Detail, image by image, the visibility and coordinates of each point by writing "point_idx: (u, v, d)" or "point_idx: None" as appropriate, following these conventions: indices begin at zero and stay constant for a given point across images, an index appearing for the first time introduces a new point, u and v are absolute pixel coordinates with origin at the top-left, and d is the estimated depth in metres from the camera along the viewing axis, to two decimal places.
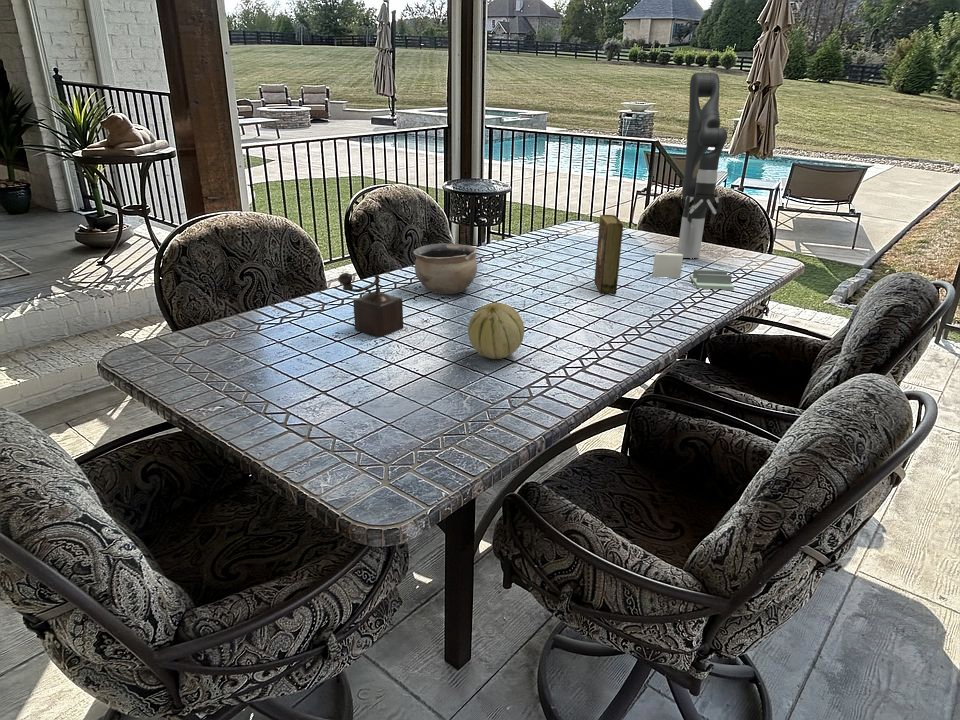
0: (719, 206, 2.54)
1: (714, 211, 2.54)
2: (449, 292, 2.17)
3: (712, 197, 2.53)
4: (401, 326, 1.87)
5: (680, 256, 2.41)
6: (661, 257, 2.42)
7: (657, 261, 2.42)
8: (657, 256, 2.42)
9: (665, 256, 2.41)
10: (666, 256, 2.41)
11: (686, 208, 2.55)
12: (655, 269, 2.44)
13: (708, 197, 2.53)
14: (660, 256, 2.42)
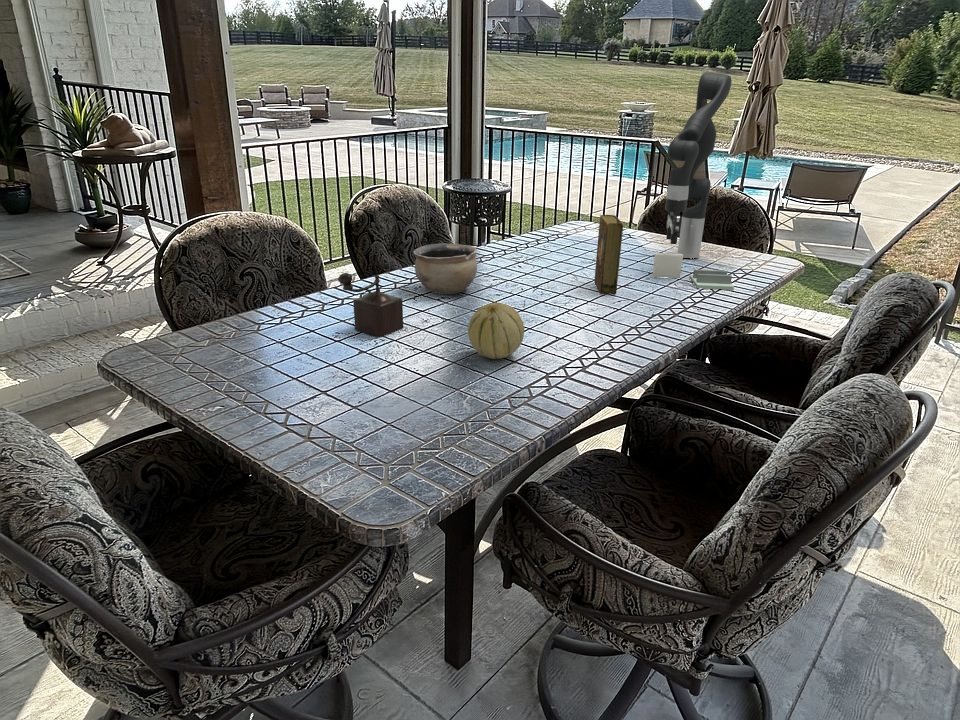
0: None
1: None
2: (449, 292, 2.17)
3: None
4: (401, 326, 1.87)
5: (680, 256, 2.41)
6: (661, 257, 2.42)
7: (657, 261, 2.42)
8: (657, 256, 2.42)
9: (665, 256, 2.41)
10: (666, 256, 2.41)
11: None
12: (655, 269, 2.44)
13: None
14: (660, 256, 2.42)
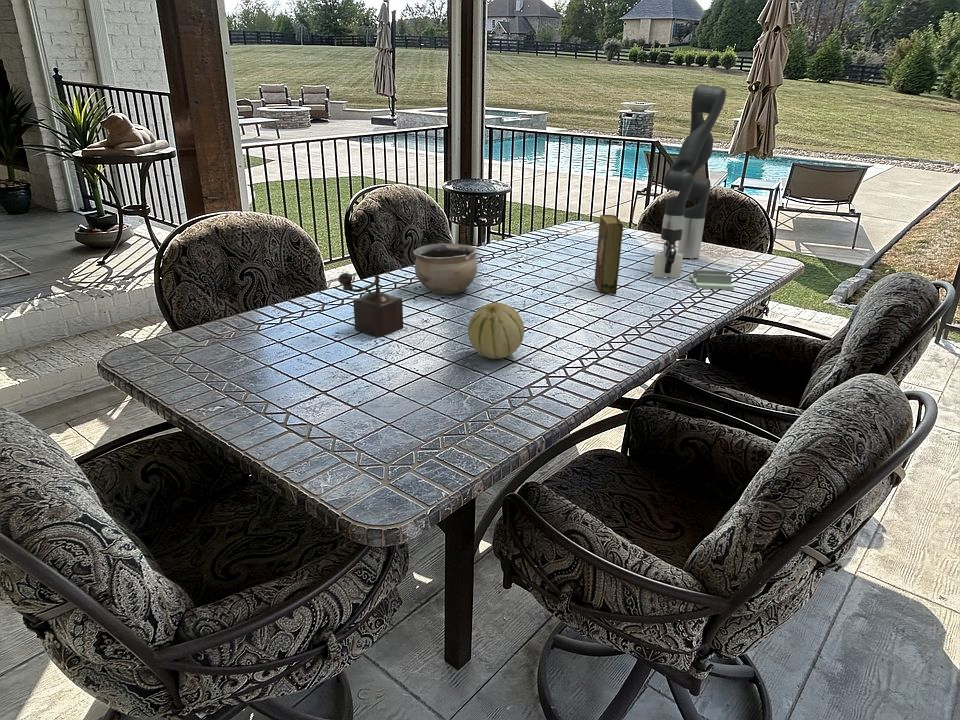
0: None
1: None
2: (449, 292, 2.17)
3: None
4: (401, 326, 1.87)
5: (680, 256, 2.41)
6: (661, 257, 2.42)
7: (657, 261, 2.43)
8: (657, 256, 2.42)
9: None
10: None
11: None
12: (655, 269, 2.44)
13: None
14: (660, 256, 2.42)
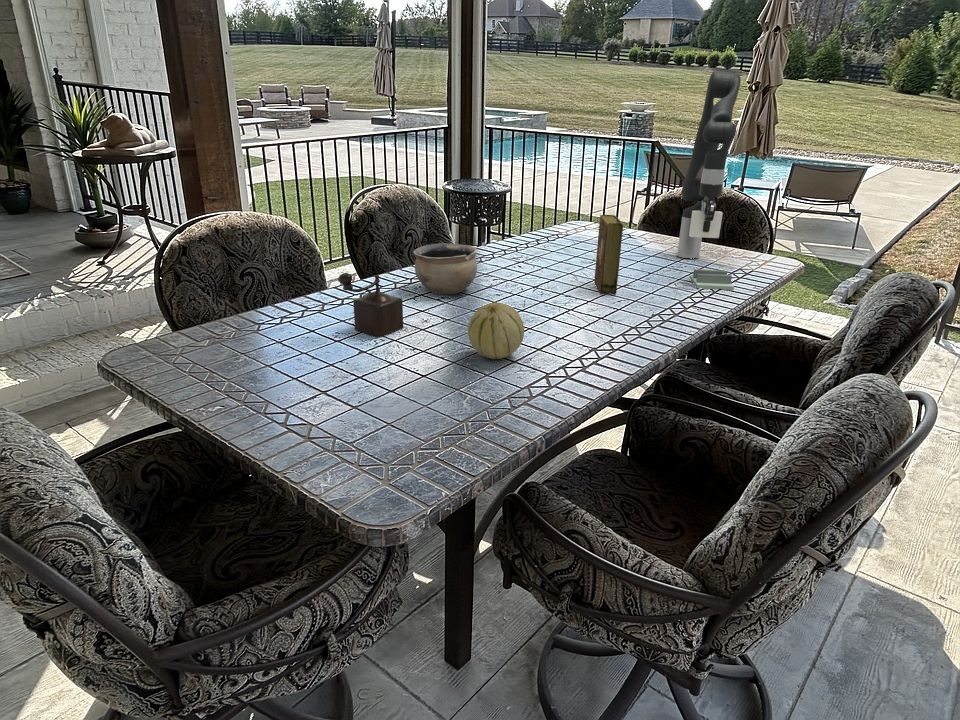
0: None
1: None
2: (449, 292, 2.17)
3: None
4: (401, 326, 1.87)
5: (719, 213, 2.28)
6: (699, 214, 2.29)
7: (695, 219, 2.30)
8: (695, 213, 2.29)
9: None
10: None
11: None
12: (692, 228, 2.31)
13: None
14: (698, 213, 2.29)
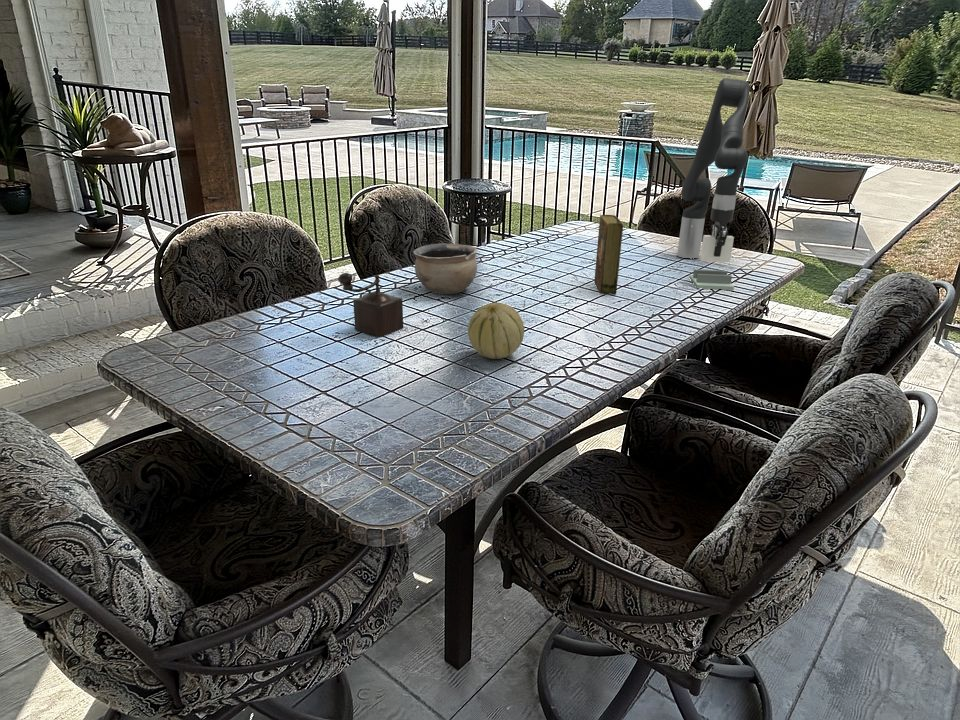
0: None
1: None
2: (449, 292, 2.17)
3: None
4: (401, 326, 1.87)
5: (731, 238, 2.29)
6: (710, 239, 2.30)
7: (706, 244, 2.30)
8: (706, 238, 2.30)
9: None
10: None
11: None
12: (704, 252, 2.32)
13: None
14: (709, 238, 2.29)
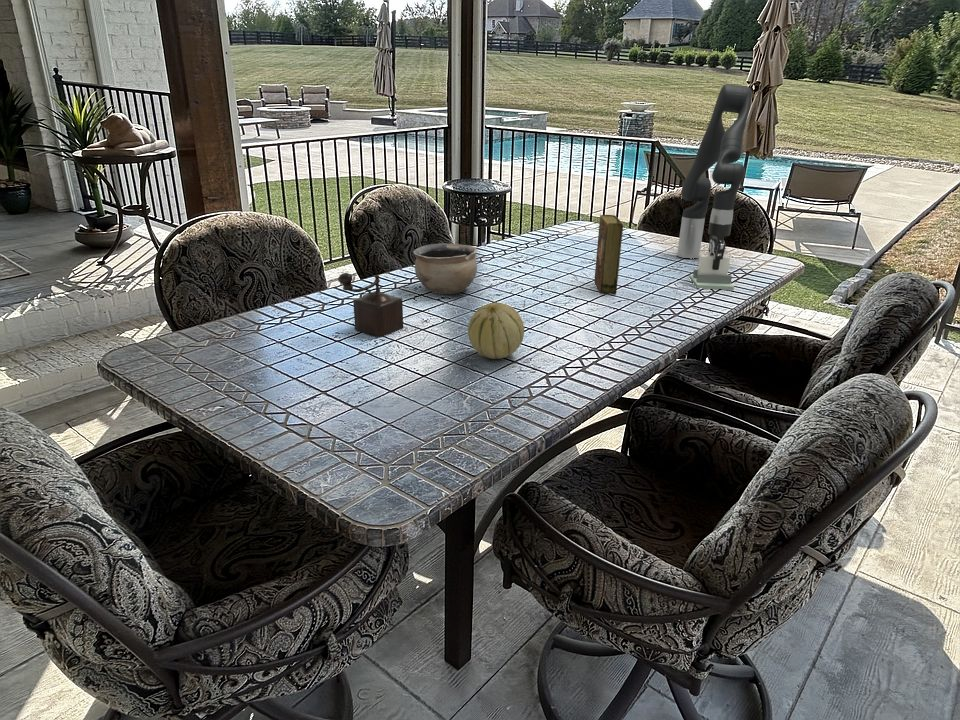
0: None
1: None
2: (449, 292, 2.17)
3: None
4: (401, 326, 1.87)
5: (727, 258, 2.32)
6: (707, 259, 2.33)
7: (703, 264, 2.33)
8: (703, 258, 2.33)
9: (711, 258, 2.32)
10: (712, 258, 2.32)
11: None
12: (700, 272, 2.35)
13: None
14: (706, 258, 2.32)
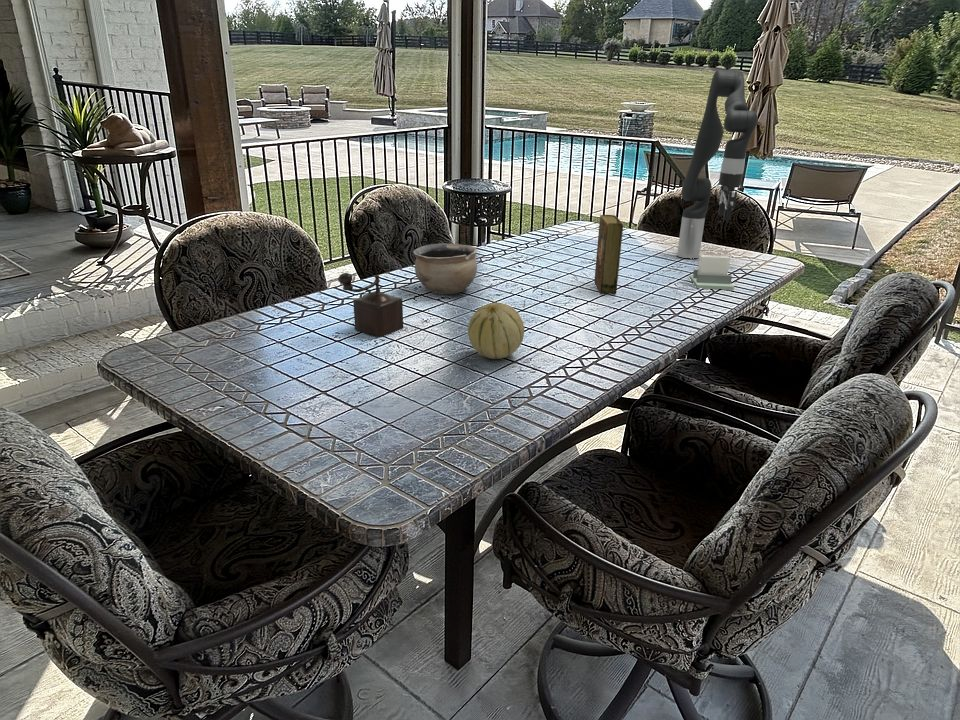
0: None
1: None
2: (449, 292, 2.17)
3: None
4: (401, 326, 1.87)
5: (727, 258, 2.32)
6: (707, 259, 2.33)
7: (703, 264, 2.33)
8: (703, 258, 2.33)
9: (711, 258, 2.32)
10: (712, 258, 2.32)
11: None
12: (700, 272, 2.35)
13: None
14: (706, 258, 2.32)
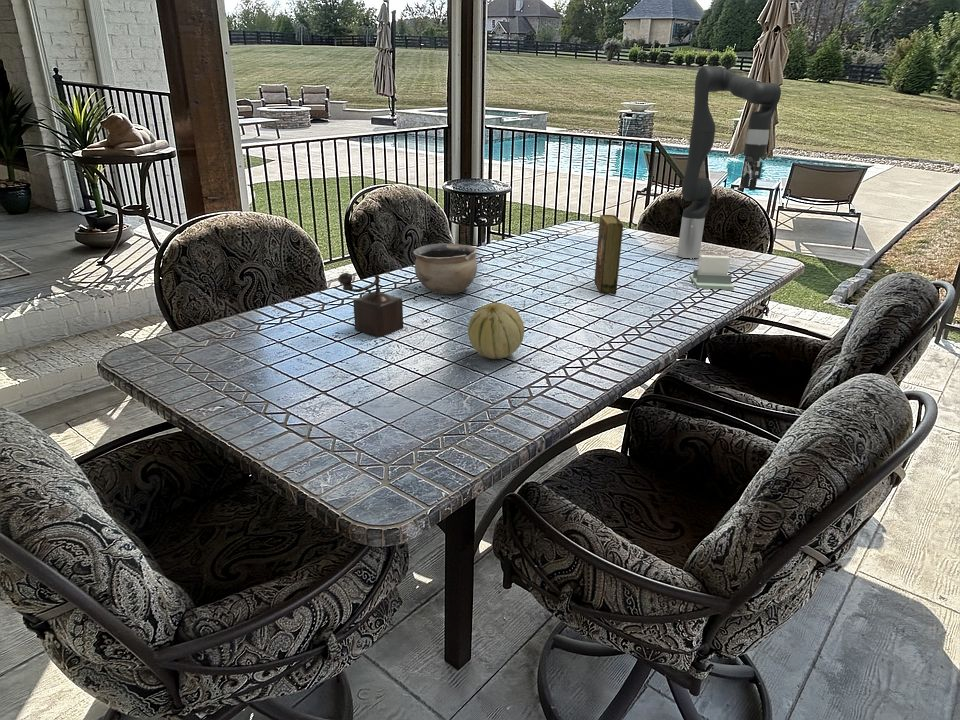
0: None
1: None
2: (449, 292, 2.17)
3: None
4: (401, 326, 1.87)
5: (727, 258, 2.32)
6: (707, 259, 2.33)
7: (703, 264, 2.33)
8: (703, 258, 2.33)
9: (711, 258, 2.32)
10: (712, 258, 2.32)
11: None
12: (700, 272, 2.35)
13: None
14: (706, 258, 2.32)
